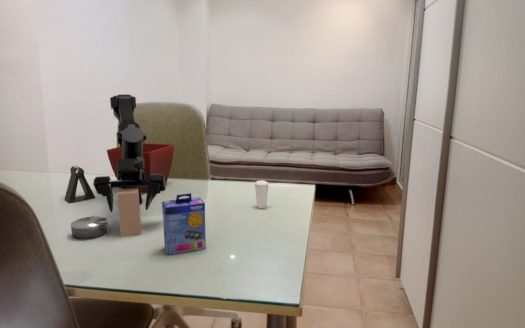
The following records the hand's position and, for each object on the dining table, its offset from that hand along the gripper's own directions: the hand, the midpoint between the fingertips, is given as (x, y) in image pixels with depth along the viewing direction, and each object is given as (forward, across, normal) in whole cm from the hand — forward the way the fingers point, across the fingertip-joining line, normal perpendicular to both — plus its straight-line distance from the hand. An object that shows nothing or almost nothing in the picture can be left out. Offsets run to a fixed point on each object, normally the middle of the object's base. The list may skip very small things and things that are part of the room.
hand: (128, 210), depth 103 cm
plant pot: (-32, -2, +41) cm, 52 cm away
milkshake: (-6, +40, +16) cm, 44 cm away
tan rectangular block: (+4, 0, +6) cm, 7 cm away
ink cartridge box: (+14, +15, -4) cm, 21 cm away
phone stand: (-23, -24, +33) cm, 47 cm away
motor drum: (+3, -11, +7) cm, 13 cm away
